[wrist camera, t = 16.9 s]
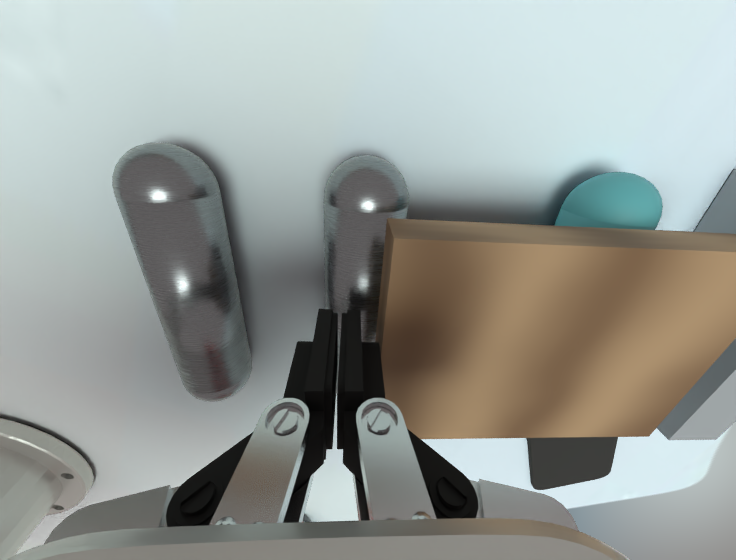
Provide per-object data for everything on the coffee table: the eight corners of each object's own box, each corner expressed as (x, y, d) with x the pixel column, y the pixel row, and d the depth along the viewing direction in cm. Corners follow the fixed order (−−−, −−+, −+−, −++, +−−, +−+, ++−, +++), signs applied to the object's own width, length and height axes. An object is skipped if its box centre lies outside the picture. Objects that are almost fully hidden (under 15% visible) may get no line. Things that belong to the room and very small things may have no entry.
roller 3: (559, 164, 14) (624, 178, 11) (626, 167, 14) (709, 182, 11) (485, 370, 20) (511, 416, 17) (532, 368, 21) (567, 413, 18)
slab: (369, 402, 15) (371, 439, 14) (386, 218, 10) (394, 238, 9) (616, 402, 16) (648, 436, 15) (739, 233, 11) (809, 255, 10)
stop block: (602, 373, 21) (668, 440, 17) (733, 169, 14) (904, 192, 10) (641, 373, 21) (715, 439, 17) (788, 172, 14) (978, 196, 10)
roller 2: (328, 367, 20) (324, 415, 16) (326, 148, 13) (319, 158, 10) (381, 368, 20) (387, 414, 17) (406, 153, 13) (423, 164, 10)
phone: (532, 492, 29) (526, 400, 21) (528, 483, 29) (520, 391, 22) (610, 476, 28) (632, 375, 20) (604, 467, 29) (622, 366, 21)
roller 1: (206, 366, 19) (177, 416, 16) (138, 136, 12) (65, 143, 9) (262, 367, 19) (244, 415, 16) (225, 141, 13) (183, 150, 9)
